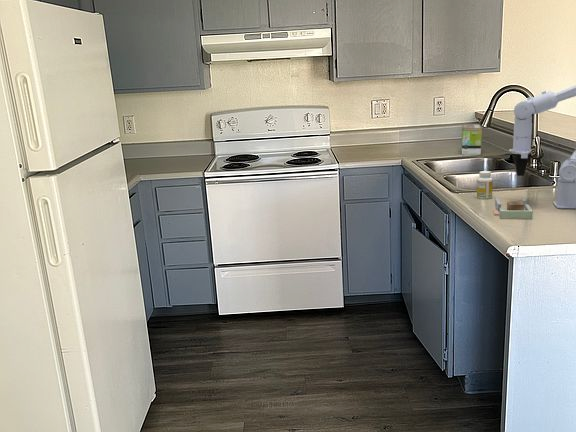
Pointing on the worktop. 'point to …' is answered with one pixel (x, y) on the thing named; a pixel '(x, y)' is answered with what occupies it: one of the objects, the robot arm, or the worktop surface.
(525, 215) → the channel
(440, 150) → the worktop surface
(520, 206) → the walnut block
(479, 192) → the supplement bottle
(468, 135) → the tea box
